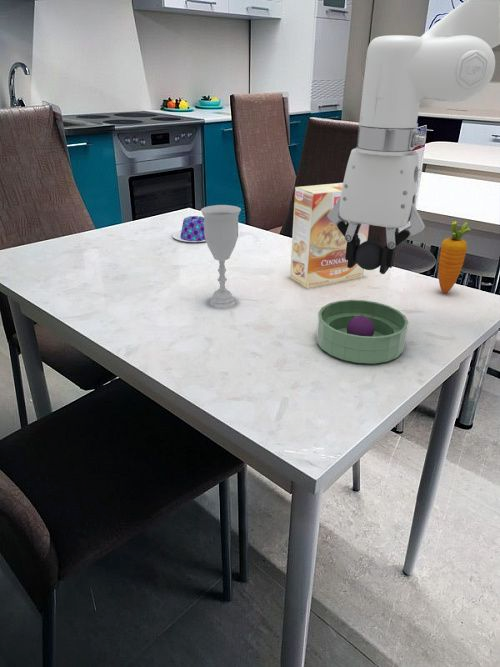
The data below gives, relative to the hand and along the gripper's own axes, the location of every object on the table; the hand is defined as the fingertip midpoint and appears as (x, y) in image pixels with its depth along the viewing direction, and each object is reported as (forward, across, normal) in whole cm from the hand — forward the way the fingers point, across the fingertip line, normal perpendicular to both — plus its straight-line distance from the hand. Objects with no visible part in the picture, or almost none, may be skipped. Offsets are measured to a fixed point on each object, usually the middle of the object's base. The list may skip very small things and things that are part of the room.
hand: (368, 267), depth 77 cm
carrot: (+13, -9, -29) cm, 34 cm away
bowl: (+13, 0, 0) cm, 13 cm away
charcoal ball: (0, 0, 0) cm, 0 cm away
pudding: (+14, +56, -37) cm, 68 cm away
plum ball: (+13, 0, 0) cm, 13 cm away
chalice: (+14, +28, -3) cm, 31 cm away
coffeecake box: (+14, +15, -26) cm, 33 cm away
